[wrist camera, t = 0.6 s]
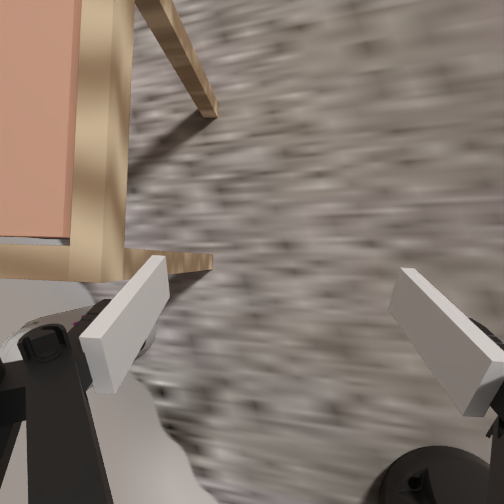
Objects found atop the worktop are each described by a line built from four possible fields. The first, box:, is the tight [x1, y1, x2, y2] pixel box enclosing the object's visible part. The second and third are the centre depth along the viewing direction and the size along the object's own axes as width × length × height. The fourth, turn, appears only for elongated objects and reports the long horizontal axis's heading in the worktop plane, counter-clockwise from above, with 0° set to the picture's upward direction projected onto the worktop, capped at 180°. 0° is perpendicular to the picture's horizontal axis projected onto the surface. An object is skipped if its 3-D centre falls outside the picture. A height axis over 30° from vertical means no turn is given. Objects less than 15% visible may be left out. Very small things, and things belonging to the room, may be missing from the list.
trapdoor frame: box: [0, 0, 218, 283], centre depth 28 cm, size 23×23×22 cm
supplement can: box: [0, 305, 156, 389], centre depth 31 cm, size 8×8×15 cm
